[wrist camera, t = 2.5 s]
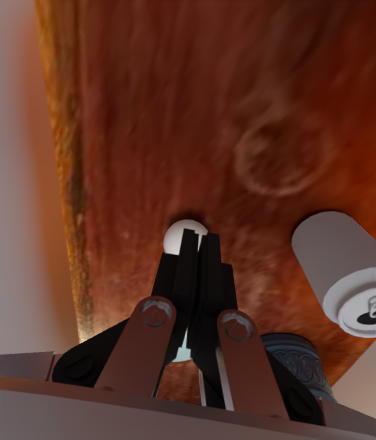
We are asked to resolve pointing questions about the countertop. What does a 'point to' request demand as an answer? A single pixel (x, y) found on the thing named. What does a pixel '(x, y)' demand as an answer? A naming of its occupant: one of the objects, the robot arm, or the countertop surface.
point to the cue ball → (176, 232)
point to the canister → (300, 362)
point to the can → (340, 269)
